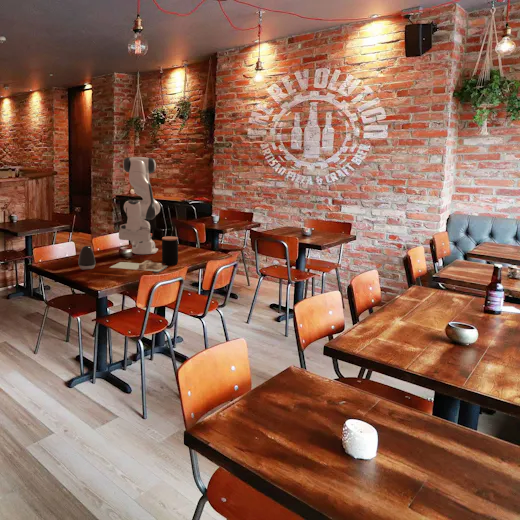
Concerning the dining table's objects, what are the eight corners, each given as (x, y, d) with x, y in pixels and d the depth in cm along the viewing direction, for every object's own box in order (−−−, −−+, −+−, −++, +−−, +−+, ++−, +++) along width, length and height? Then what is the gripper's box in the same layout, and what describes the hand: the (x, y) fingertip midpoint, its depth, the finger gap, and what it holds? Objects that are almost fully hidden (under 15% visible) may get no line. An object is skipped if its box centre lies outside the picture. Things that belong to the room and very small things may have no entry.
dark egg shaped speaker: (98, 268, 295) (98, 244, 292) (91, 272, 285) (90, 247, 282) (83, 267, 296) (82, 243, 293) (75, 271, 286) (74, 246, 283)
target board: (120, 263, 309) (120, 261, 309) (167, 267, 304) (167, 265, 304) (109, 269, 294) (109, 267, 294) (158, 273, 289) (158, 271, 289)
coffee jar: (172, 261, 322) (172, 235, 318) (181, 264, 314) (181, 238, 310) (159, 263, 314) (158, 237, 310) (167, 266, 307) (167, 239, 303)
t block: (138, 269, 293) (138, 264, 292) (146, 264, 304) (146, 260, 303) (156, 270, 291) (156, 265, 290) (164, 266, 302) (164, 261, 302)
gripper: (151, 226, 295) (152, 247, 298) (121, 224, 298) (122, 245, 301) (148, 228, 289) (148, 249, 292) (117, 225, 292) (117, 247, 295)
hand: (134, 247), depth 297 cm, fingers closed
